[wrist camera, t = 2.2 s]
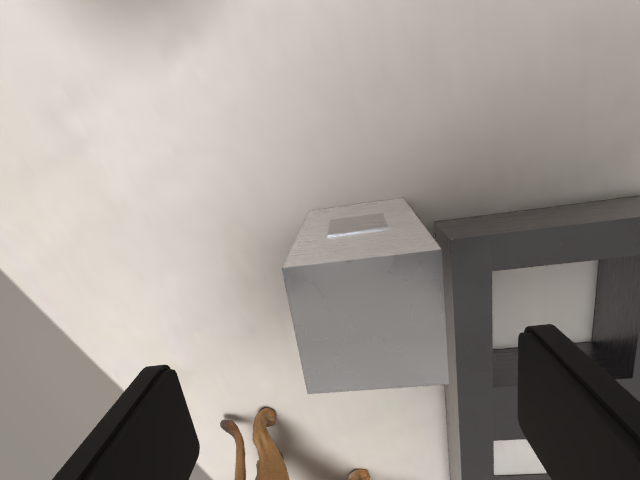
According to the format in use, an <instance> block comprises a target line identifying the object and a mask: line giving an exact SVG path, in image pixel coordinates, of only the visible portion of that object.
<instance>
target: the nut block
mask: <svg viewBox="0 0 640 480" xmlns="http://www.w3.org/2000/svg"><path fill="white" fill-rule="evenodd" d="M282 271H283V276H284V281H285V286H286V291H287V295H288V300H289V305H290V310H291V315H292V320H293V325H294V330H295V335H296V340H297V345H298V349H299V354H300V359H301V364H302V369H303V374H304V379H305V384H306V389H307V394H314V393H329V392H343V391H358V390H372V389H387V388H401V387H416V386H430V385H445V384H449V376H448V357H447V339H446V321H445V303H444V285H443V266H442V249H441V248H440V247H439V245H438V244H437V243H436V241H435V240H434V239H433V237H432V236H431V234H430V233H429V232H428V230H427V229H426V228H425V226H424V225H423V224H422V222H421V221H420V220H419V218H418V217H417V216H416V214H415V213H414V211H413V210H412V209H411V207H410V206H409V205H408V203H407V202H406V201H405V199H404V198H398V199H390V200H383V201H376V202H368V203H361V204H353V205H346V206H339V207H331V208H324V209H317V210H309V212H308V214H307V216H306V218H305V220H304V223H303V225H302V227H301V229H300V231H299V233H298V235H297V237H296V239H295V241H294V244H293V246H292V248H291V250H290V252H289V254H288V256H287V258H286V260H285V262H284V265H283V267H282Z"/></svg>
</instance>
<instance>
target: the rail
mask: <svg viewBox="0 0 640 480" xmlns="http://www.w3.org/2000/svg"><path fill="white" fill-rule="evenodd" d="M435 234H436V243H437V244H438V245H439V247H440V248H441V249H442V266H443V285H444V303H445V321H446V339H447V357H448V376H449V384H445V401H446V418H447V435H448V451H449V468H450V480H551V478H550V476H549V475H548V474H535V475H508V476H494V456H493V441H496V440H516V439H526V437H525V436H524V434H523V432H522V430H521V428H520V425H519V422H518V348H511V349H498V350H492V271H496V270H506V269H515V268H524V267H534V266H543V265H552V264H562V263H571V262H580V261H590V260H599V269H598V280H597V291H596V303H595V314H594V325H593V336H592V342H586V343H574V344H575V345H576V346H577V347H579V348H580V349H581V350H582V351H583V352H584V353H585V354H586V355H587V356H589V357H590V358H591V359H592V360H593V361H594V362H595V363H596V364H597V365H599V366H600V367H601V368H602V369H603V370H604V371H605V372H606V373H608V374H609V375H610V376H611V377H612V378H613V379H614V380H616V381H617V382H618V383H619V384H620V385H621V386H622V387H624V388H625V389H626V390H627V391H628V392H629V393H630V394H631V395H633V396H634V397H635V398H636V399H637V400H638V401H639V402H640V196H635V197H627V198H619V199H611V200H603V201H595V202H587V203H579V204H571V205H564V206H556V207H548V208H540V209H532V210H524V211H516V212H508V213H500V214H492V215H484V216H477V217H469V218H461V219H453V220H445V221H437V222H435Z"/></svg>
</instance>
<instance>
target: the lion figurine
mask: <svg viewBox="0 0 640 480" xmlns="http://www.w3.org/2000/svg"><path fill="white" fill-rule="evenodd" d="M275 420H276V414H275V412H274V411H273V410H272V409H269V408H264V409H262V410H261V411H260V412H259V413H258V414H257V415H256V417H255V419H254V425H253V442H254V444H255V446H256V448H257V450H258V454H259V460H258V461H257V464H256V465H257V476H256V479H255V480H289V476H288V472H287V469H286V466H285V463H284V460H283V458H282V456H281V455H280V452H279V451H278V449H277V448H276V446H275V444H274V442H273V441H272V439H271V437H270V435H269V433H268V431H267V428H266V427H269V426H273V425H275ZM220 426H221V428H223V430H225V431H226V432H228V433H229V434H231V435H232V436H233V437H234V439H235V442H236V468H235V480H246V469H245V449H244V441H243V437H242V435H241V433H240V431H239V428H238V426H237V425H236V424H235V423H234V422H233V421H232V420H230V421H229V420H226V419H225V420H222V421H221V423H220ZM369 479H370V476H369V474H368V472H367V470H365V469H358V470H354V471H353V472H352V473H351V474H350V475H349V478H348V480H369Z"/></svg>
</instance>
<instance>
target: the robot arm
mask: <svg viewBox="0 0 640 480" xmlns="http://www.w3.org/2000/svg"><path fill="white" fill-rule="evenodd" d="M518 422H519V425H520V428H521V430H522V432H523V434H524V436H525V437H526V439H527V440H528V442H529V444H530V445H531V447H532V449H533V450H534V452H535V454H536V455H537V457H538V458H539V460H540V462H541V463H542V465H543V467H544V468H545V470H546V471H547V473H548V475H549V476H550V478H551V480H640V402H639V401H638V400H637V399H636V398H635V397H634V396H633V395H631V394H630V393H629V392H628V391H627V390H626V389H625V388H624V387H622V386H621V385H620V384H619V383H618V382H617V381H616V380H614V379H613V378H612V377H611V376H610V375H609V374H608V373H606V372H605V371H604V370H603V369H602V368H601V367H600V366H599V365H597V364H596V363H595V362H594V361H593V360H592V359H591V358H590V357H589V356H587V355H586V354H585V353H584V352H583V351H582V350H581V349H580V348H579V347H577V346H576V345H575V344H574V343H573V342H572V341H571V340H570V339H569V338H567V337H566V336H565V335H564V334H563V333H562V332H561V331H560V330H558V329H557V328H556V327H555V326H554V325H552V324H546V325H537V326H528V327H526V328H525V331H524V333H520V334H519V337H518ZM199 449H200V447H199V441H198V438H197V435H196V432H195V429H194V425H193V422H192V419H191V416H190V413H189V410H188V407H187V404H186V401H185V398H184V395H183V392H182V389H181V385H180V382H179V379H178V376H177V373H176V371H175V370H173V369H170V367H169V366H168V365H158V366H149V367H145V368H144V369H143V370H142V371H141V372H140V373H139V375H138V376H137V377H136V378H135V379H134V381H133V382H132V383H131V384H130V385H129V387H128V388H127V389H126V390H125V392H124V393H123V394H122V395H121V396H120V398H119V399H118V400H117V401H116V403H115V404H114V405H113V406H112V407H111V409H110V410H109V411H108V412H107V413H106V415H105V416H104V417H103V418H102V419H101V421H100V422H99V423H98V424H97V426H96V427H95V428H94V429H93V430H92V432H91V433H90V434H89V435H88V437H87V438H86V439H85V440H84V441H83V443H82V444H81V445H80V446H79V447H78V449H77V450H76V451H75V452H74V454H73V455H72V456H71V457H70V458H69V460H68V461H67V462H66V463H65V464H64V466H63V467H62V468H61V470H60V471H59V472H58V473H57V474H56V475H55V477H54V478H53V479H52V480H189V477H190V475H191V473H192V470H193V468H194V466H195V463H196V461H197V459H198V456H199Z"/></svg>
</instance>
